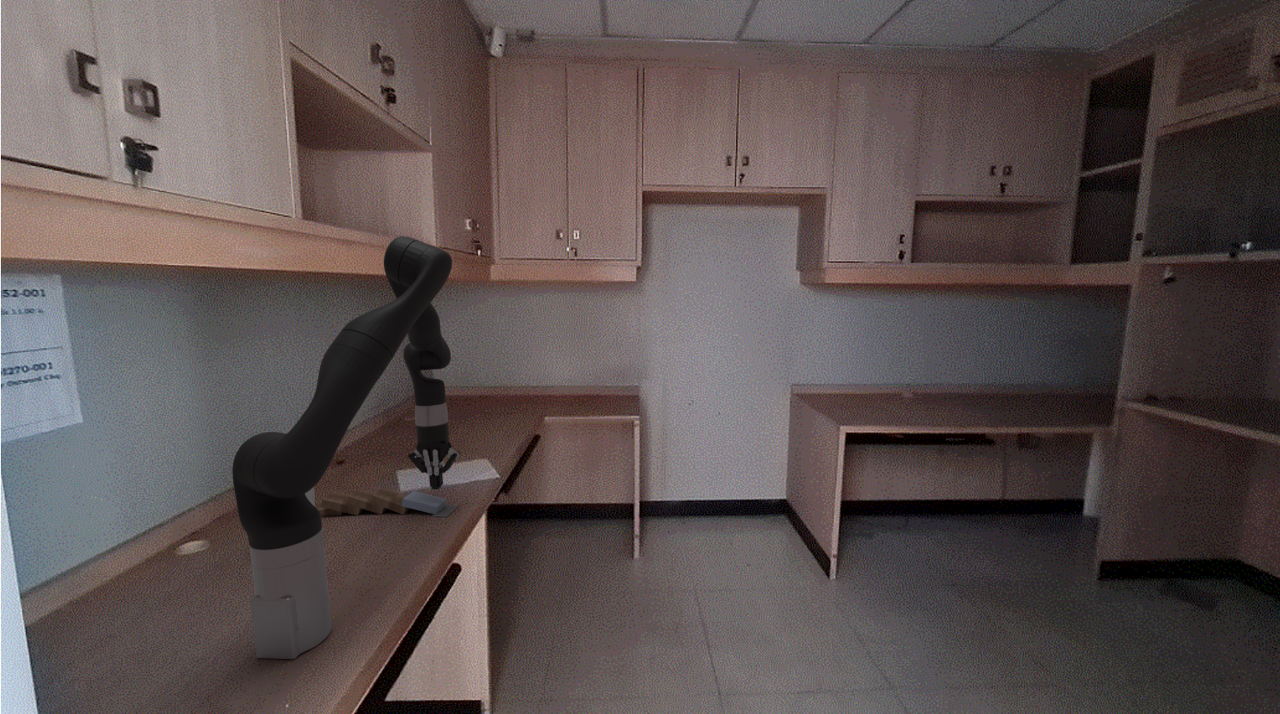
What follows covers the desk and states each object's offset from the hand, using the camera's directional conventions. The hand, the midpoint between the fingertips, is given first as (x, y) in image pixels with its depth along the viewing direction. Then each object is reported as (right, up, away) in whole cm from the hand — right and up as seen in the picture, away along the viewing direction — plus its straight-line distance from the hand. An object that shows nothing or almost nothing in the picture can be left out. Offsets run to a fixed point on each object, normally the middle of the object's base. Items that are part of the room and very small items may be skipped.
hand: (436, 488), depth 126 cm
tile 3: (-13, -5, +2) cm, 14 cm away
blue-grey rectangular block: (+1, -5, 0) cm, 5 cm away
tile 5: (-24, -6, +2) cm, 25 cm away
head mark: (+2, -6, +1) cm, 6 cm away
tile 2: (-7, -5, +1) cm, 9 cm away
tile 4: (-19, -5, +1) cm, 20 cm away
